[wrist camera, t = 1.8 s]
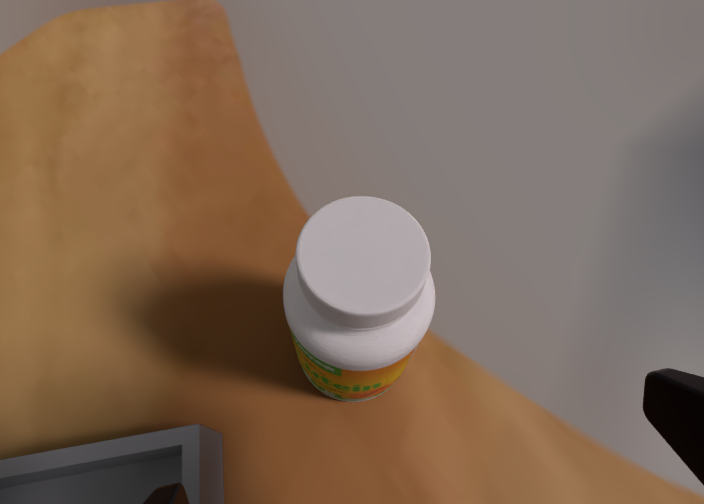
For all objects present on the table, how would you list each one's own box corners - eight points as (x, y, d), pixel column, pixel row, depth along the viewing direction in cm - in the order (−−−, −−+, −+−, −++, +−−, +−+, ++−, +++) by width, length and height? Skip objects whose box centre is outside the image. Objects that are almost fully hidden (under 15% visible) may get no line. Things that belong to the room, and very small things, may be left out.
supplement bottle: (282, 385, 20) (240, 310, 11) (316, 284, 22) (303, 161, 14) (394, 417, 19) (440, 364, 11) (416, 310, 22) (467, 198, 13)
